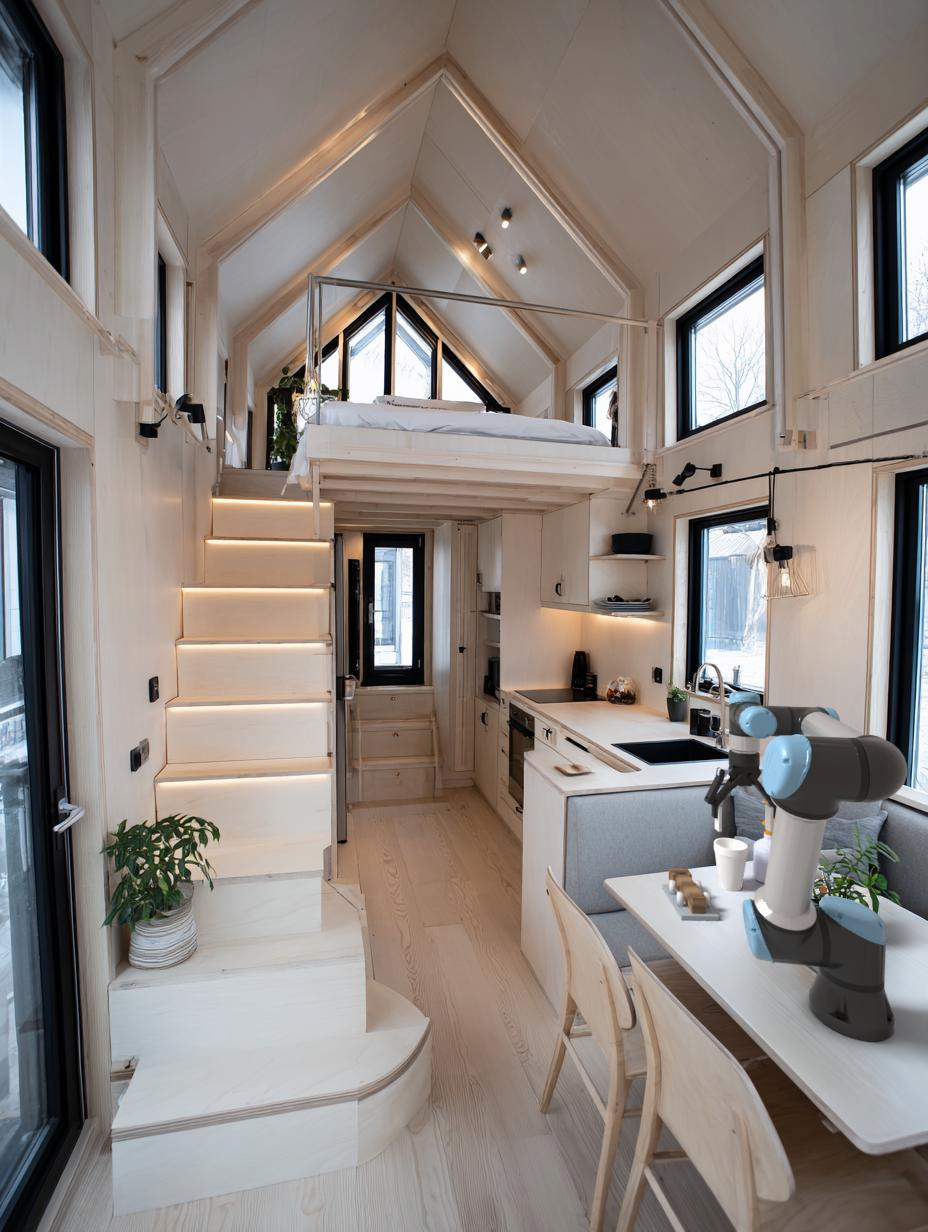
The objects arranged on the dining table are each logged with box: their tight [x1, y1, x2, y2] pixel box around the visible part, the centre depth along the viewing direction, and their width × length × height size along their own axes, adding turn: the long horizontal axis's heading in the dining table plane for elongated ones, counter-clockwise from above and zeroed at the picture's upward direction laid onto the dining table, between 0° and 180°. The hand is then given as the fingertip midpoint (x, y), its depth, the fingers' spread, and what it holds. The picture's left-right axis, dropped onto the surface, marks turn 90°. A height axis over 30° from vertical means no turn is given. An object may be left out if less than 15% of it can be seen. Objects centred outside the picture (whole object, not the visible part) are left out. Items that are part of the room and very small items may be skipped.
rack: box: [661, 879, 720, 922], centre depth 174 cm, size 18×10×5 cm, turn 178°
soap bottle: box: [752, 800, 775, 884], centre depth 189 cm, size 9×9×25 cm
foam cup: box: [713, 837, 749, 892], centre depth 184 cm, size 10×9×13 cm
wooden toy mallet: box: [668, 867, 706, 914], centre depth 175 cm, size 18×6×4 cm, turn 178°
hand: (743, 830), depth 162 cm, fingers open, 13 cm apart
